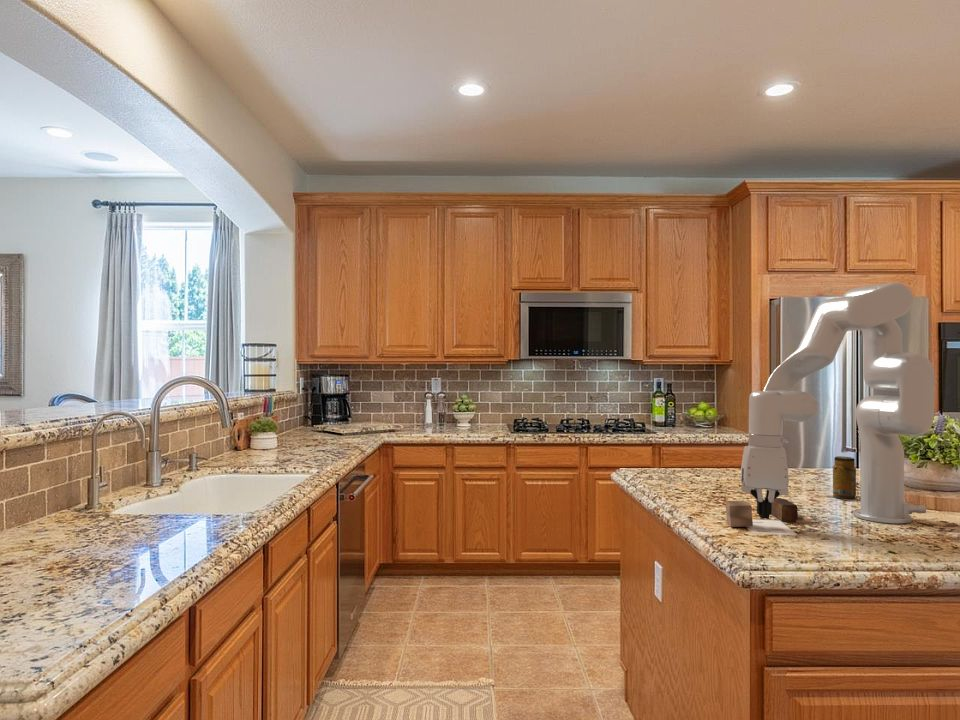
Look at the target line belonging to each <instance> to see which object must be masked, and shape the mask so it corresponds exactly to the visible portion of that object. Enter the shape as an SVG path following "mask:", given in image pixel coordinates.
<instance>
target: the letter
mask: <svg viewBox="0 0 960 720" xmlns="http://www.w3.org/2000/svg"><path fill="white" fill-rule="evenodd" d="M752 521H753V526H748V527H745V528H746V529H747V530H748V531H749V532H750V533H751V534H759V535H761V534H763V535H765V534H766V535H783V536H784V535H787V536H798V534H797V533H796V532H794V530H792V529H791V528H790V527H788V526H787V525H786V524H785V523H784V522H781V521H780V520H778V519H777V520H776V519H753V518H752Z"/></svg>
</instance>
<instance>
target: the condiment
mask: <svg viewBox="0 0 960 720" xmlns="http://www.w3.org/2000/svg"><path fill="white" fill-rule="evenodd" d="M833 460H834V462H833V463H834V465H833V466H832V494H826V496H827V497H829V498H835V499H838V500H839V499H840V498H841V499H840V500H844V501H849V502H852V501H854V502H857V500H858V502H859V500H860V501H861V497H858V496H857V467H856V466H855V464H856V463H855V460H856V459H855V458H854V457H851V456H840V455H838V456H834V459H833ZM856 497H857V498H859V499H856Z"/></svg>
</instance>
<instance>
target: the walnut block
mask: <svg viewBox="0 0 960 720" xmlns="http://www.w3.org/2000/svg"><path fill="white" fill-rule="evenodd" d="M724 503H725V515H726V517H725V518H726V523H727V524H728V525H729V526H730V527H731V528H733V527H734V528H735V527H737V528H739V527H740V528H741V527H743V528H744V527H745V528H746V527H748V526H753V521H752V519H753V509H752V508H753V506H752V504H751V503H750V502H748V501H747V500H745V501H744V500H742V501H725V502H724Z"/></svg>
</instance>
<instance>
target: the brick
mask: <svg viewBox="0 0 960 720" xmlns="http://www.w3.org/2000/svg"><path fill="white" fill-rule="evenodd" d="M770 516H772V517H774V518H775V519H777V520H779V521H781V522H782V523H797V520H798V517H799V515H798V505H797V504H795V503H793V502H792V501H790V500H788V499H786V498H785V499H784V498H780V497H777V498H776V499H774V501H773V502H772V511H771V515H770Z"/></svg>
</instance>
